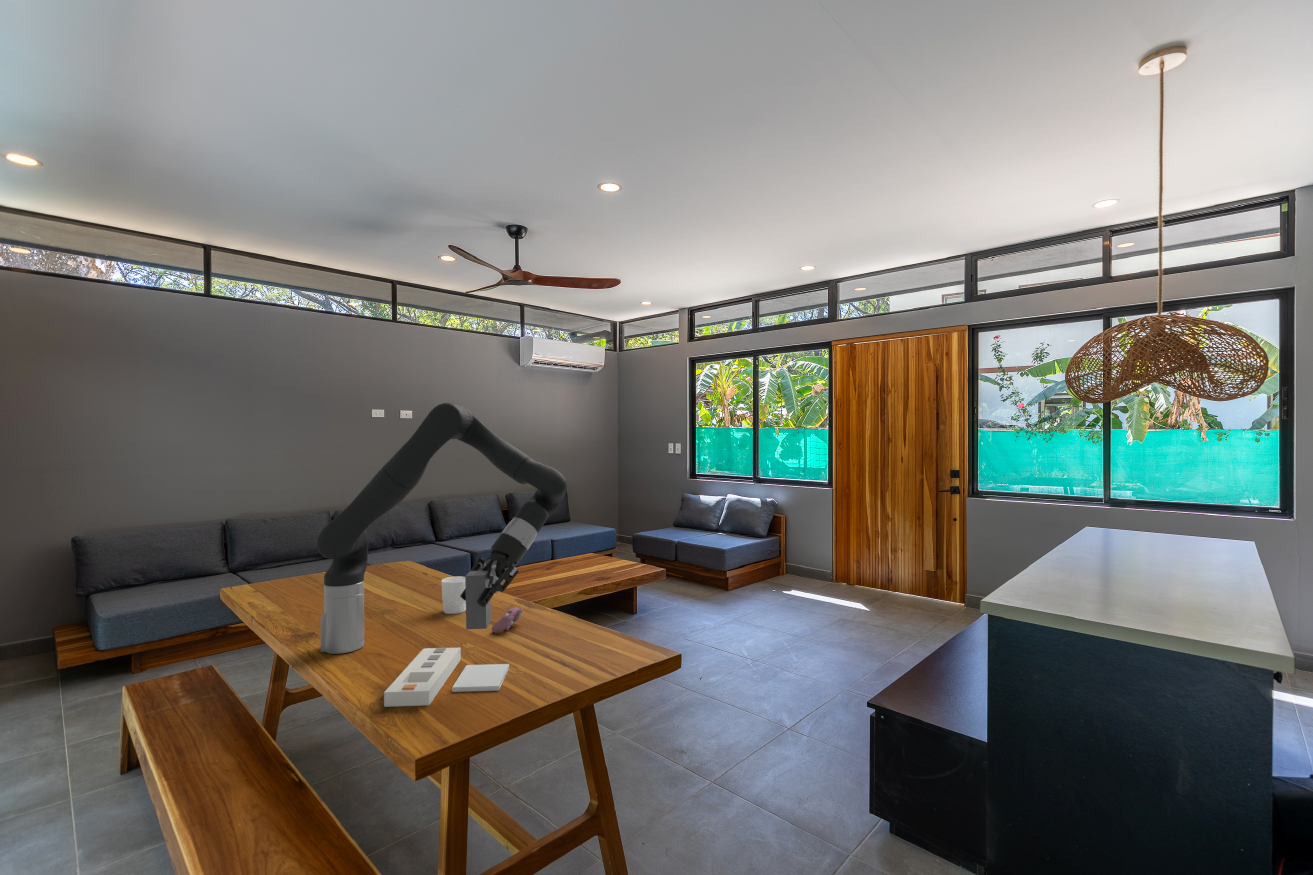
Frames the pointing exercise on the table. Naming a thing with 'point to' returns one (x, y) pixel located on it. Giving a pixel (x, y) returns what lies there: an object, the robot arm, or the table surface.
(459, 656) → the power strip
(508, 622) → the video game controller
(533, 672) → the table surface
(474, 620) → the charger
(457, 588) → the white cup
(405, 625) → the table surface
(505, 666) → the mat
